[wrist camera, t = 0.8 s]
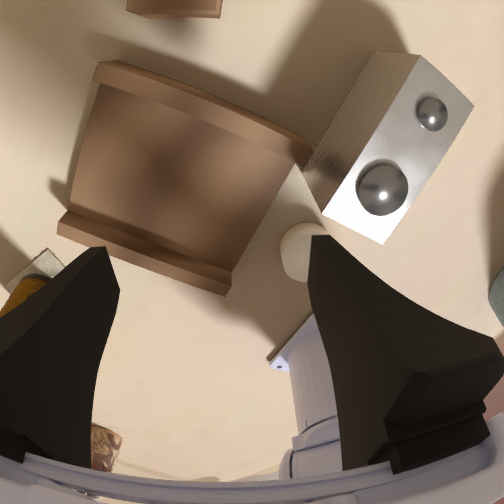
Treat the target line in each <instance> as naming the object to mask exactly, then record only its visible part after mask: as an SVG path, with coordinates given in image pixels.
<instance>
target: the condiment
mask: <svg viewBox="0 0 504 504" xmlns="http://www.w3.org/2000/svg"><path fill="white" fill-rule="evenodd" d="M64 268H65V267H64V266H63V265H62V264H61V262H60V261H59V260H57V259H56V258H55V256H54V255H53V254H52V253H51V252H50V251H49V250H47V251H45V252H44V253H43V254H42V255H40V256H39V257H38V258H37V259H36V260H35V261H33V262H32V263H31V264H30V265H29V266H27V267H26V268H25V269H24V270H22V271H21V272H20V273H19V274H18V275H17V276H15V277H14V278H13V279H12V280H11V281H10V282H9V283H8V284H7V285H6V286H5V287H4V288H5V289H6V290H7V291H8V292H9V293H10V294H11V295H10V297H9V299H8V300H7V302H6V303H5V305H4V307H3V308H2V309H1V311H0V317H2V316H4V315H5V314H7V313H8V312H10V311H11V310H13V309H14V308H15V307H17V306H18V305H20V304H21V303H22V302H24V301H25V300H26V299H28V298H29V297H30V296H32V295H33V294H34V293H35V292H36V291H38V290H39V289H40V288H41V287H42V286H44V285H45V284H46V283H47V282H49V281H50V280H51V279H52V277H51V276H54V277H55V276H56V275H57V274H58V273H59V272H60V271H62V270H63V269H64ZM48 276H50V277H48Z"/></svg>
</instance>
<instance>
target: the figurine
mask: <svg viewBox="0 0 504 504" xmlns="http://www.w3.org/2000/svg"><path fill="white" fill-rule="evenodd" d="M122 443H123V438H122V437H121V436H119V435H118V434H116V433H115V432H113V431H111V430H108V429H105V428H101V427H97V426H91V464H92V469H93V470H98V471H103V472H109V473H112V470H113V468H114V465H115V462H116V460H117V457H118V455H119V452H120V450H121V446H122ZM77 492H80V493H83V494H85V492H81V491H77ZM87 496H89V497H90V498H91V499H93V500H98V499H100V498H102V496H98V495H93V494H89V493H87Z"/></svg>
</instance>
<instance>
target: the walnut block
mask: <svg viewBox="0 0 504 504" xmlns="http://www.w3.org/2000/svg"><path fill="white" fill-rule="evenodd" d="M222 1H223V0H127V4H126V11H129V12H132V13H135V14H137V15H140V16H143V17H146V18H168V17H196V18H220V16H221V8H222Z"/></svg>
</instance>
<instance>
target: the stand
mask: <svg viewBox="0 0 504 504" xmlns="http://www.w3.org/2000/svg"><path fill="white" fill-rule="evenodd" d="M92 80H93V81H96V82H99V83H101V84H100V87H99V90H98V93H97V96H96V99H95V102H94V105H93V108H92V111H91V114H90V118H89V121H88V124H87V128H86V131H85V135H84V139H83V142H82V146H81V150H80V154H79V158H78V162H77V167H76V171H75V176H74V180H73V185H72V190H71V195H70V200H69V206H68V210H67V212H66V213H65V214H64V215H63V216H62V218H61V219H60V220H59V221H58V227H57V234H58V235H60V236H63V237H65V238H68V239H70V240H72V241H75V242H77V243H80V244H82V245H85V246H87V247H90V248H91V247H100V246H106V249H107V252H108V255H110V256H113V257H116V258H118V259H121V260H124V261H126V262H129V263H131V264H134V265H137V266H140V267H142V268H145V269H148V270H150V271H153V272H156V273H159V274H161V275H164V276H167V277H170V278H172V279H175V280H178V281H181V282H184V283H187V284H189V285H192V286H195V287H198V288H201V289H204V290H207V291H210V292H213V293H216V294H218V295H221V296H224V297H225V296H226V295H227V293H228V291H229V290H230V288H231V272H232V270H233V269H234V267H235V265H236V263H237V262H238V260H239V258H240V257H241V255H242V253H243V251H244V250H245V248H246V246H247V244H248V243H249V241H250V239H251V238H252V236H253V234H254V232H255V231H256V229H257V227H258V226H259V224H260V222H261V220H262V219H263V217H264V215H265V214H266V212H267V210H268V208H269V207H270V205H271V203H272V202H273V200H274V198H275V196H276V195H277V193H278V191H279V190H280V188H281V186H282V184H283V183H284V181H285V179H286V178H287V176H288V174H289V173H290V171H291V169H292V167H293V166H294V164H295V162H296V163H298V164H300V165H302V166H304V164H305V163H306V161H307V159H308V158H309V156H310V154H311V153H312V151H313V150H312V149H311V147H310V146H309V145H308V143H307V142H306V141H305V139H304V138H302V137H301V136H299V135H297V134H295V133H293V132H291V131H289V130H287V129H285V128H283V127H281V126H279V125H277V124H275V123H273V122H271V121H269V120H266V119H264V118H262V117H260V116H258V115H256V114H254V113H252V112H249V111H247V110H245V109H243V108H241V107H238V106H236V105H234V104H232V103H229V102H227V101H225V100H222V99H220V98H218V97H215V96H213V95H211V94H208V93H206V92H203V91H201V90H198V89H196V88H193V87H191V86H188V85H186V84H183V83H180V82H178V81H175V80H172V79H170V78H167V77H164V76H161V75H159V74H156V73H153V72H150V71H147V70H144V69H141V68H138V67H135V66H132V65H129V64H126V63H123V62H119V61H116V60H113V61H105V62H98V65H97V68H96V71H95V73H94V76H93V79H92Z"/></svg>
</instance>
